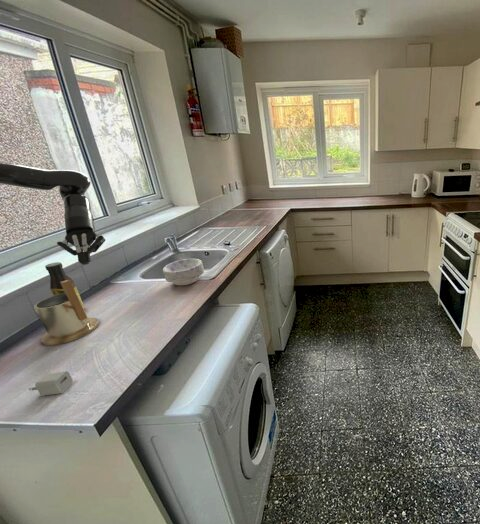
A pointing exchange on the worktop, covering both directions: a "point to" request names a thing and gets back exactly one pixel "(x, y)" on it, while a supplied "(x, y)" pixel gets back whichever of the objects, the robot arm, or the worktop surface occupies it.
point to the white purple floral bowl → (183, 271)
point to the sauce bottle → (59, 279)
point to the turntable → (50, 341)
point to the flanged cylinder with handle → (62, 313)
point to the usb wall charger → (53, 383)
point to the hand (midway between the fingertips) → (84, 263)
